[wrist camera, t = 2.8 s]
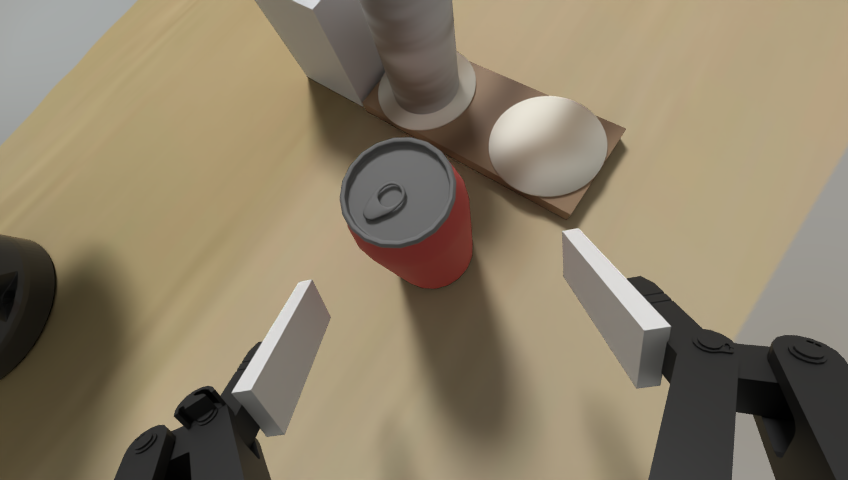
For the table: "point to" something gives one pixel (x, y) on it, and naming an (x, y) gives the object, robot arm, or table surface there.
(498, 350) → the table surface
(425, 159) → the beer can
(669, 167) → the table surface
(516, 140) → the board
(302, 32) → the white upright block
